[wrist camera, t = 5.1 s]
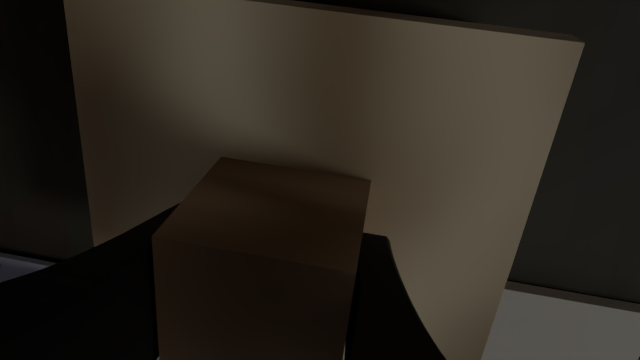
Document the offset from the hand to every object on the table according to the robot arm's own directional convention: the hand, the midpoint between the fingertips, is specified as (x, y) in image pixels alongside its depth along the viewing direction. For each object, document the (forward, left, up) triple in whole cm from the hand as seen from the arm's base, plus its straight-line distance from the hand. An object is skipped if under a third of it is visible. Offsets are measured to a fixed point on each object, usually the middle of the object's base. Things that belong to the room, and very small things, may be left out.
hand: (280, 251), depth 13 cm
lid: (0, 0, -2) cm, 2 cm away
